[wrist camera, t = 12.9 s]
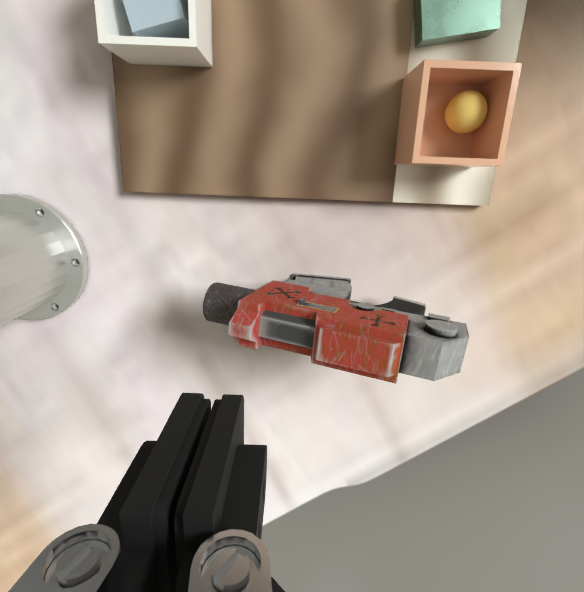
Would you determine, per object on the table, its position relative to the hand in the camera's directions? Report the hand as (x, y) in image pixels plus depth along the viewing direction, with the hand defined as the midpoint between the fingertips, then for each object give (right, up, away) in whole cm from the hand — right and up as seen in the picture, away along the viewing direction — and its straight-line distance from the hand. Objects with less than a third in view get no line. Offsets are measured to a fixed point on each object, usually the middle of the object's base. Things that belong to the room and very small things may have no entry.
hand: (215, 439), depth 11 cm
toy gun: (+5, +5, +29) cm, 30 cm away
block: (-8, +27, +20) cm, 35 cm away
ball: (+16, +19, +22) cm, 33 cm away
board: (+4, +22, +24) cm, 32 cm away
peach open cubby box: (+15, +19, +23) cm, 33 cm away
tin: (+15, +27, +21) cm, 37 cm away
